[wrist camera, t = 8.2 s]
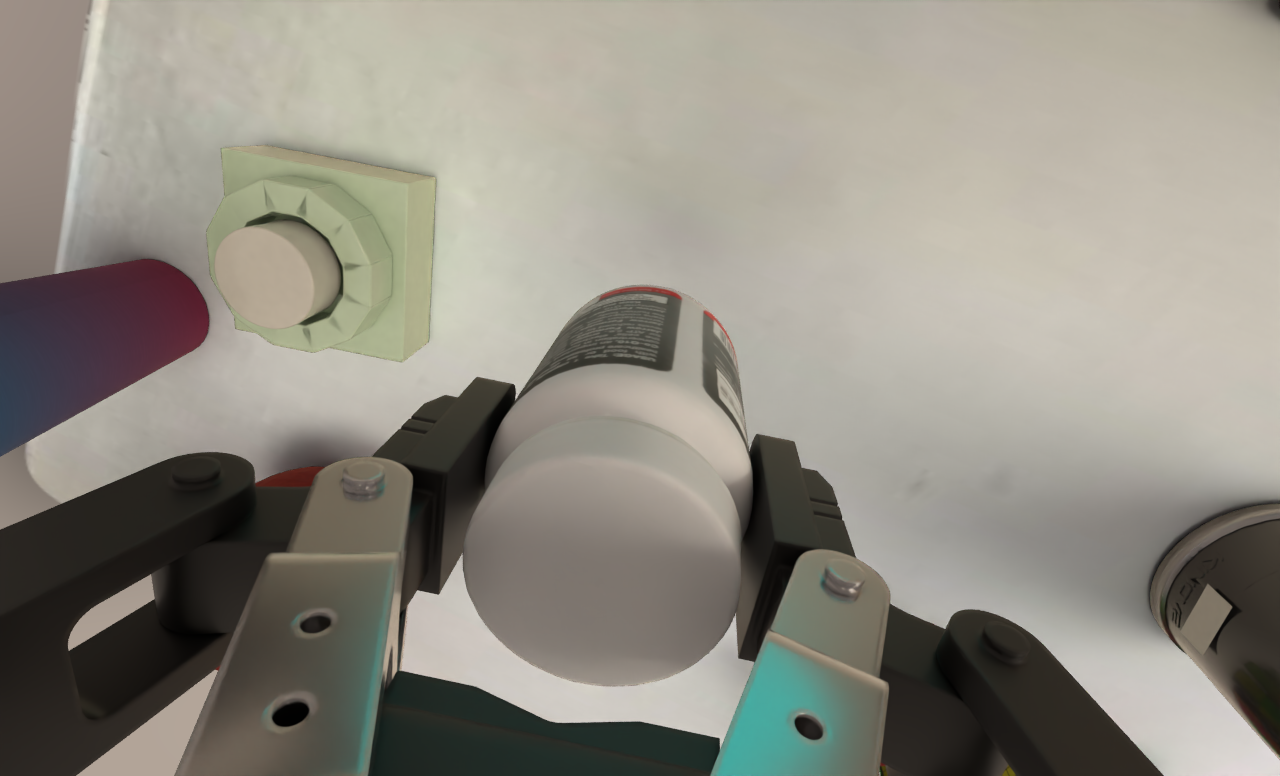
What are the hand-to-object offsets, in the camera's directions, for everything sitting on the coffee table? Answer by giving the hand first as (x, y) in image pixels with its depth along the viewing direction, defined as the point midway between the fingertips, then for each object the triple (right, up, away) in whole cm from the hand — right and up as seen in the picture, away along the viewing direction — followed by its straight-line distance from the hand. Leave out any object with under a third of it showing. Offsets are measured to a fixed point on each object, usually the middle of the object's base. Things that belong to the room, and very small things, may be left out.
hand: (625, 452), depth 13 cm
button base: (-14, +8, +18) cm, 24 cm away
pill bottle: (0, +2, +4) cm, 5 cm away
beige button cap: (-14, +6, +14) cm, 21 cm away
